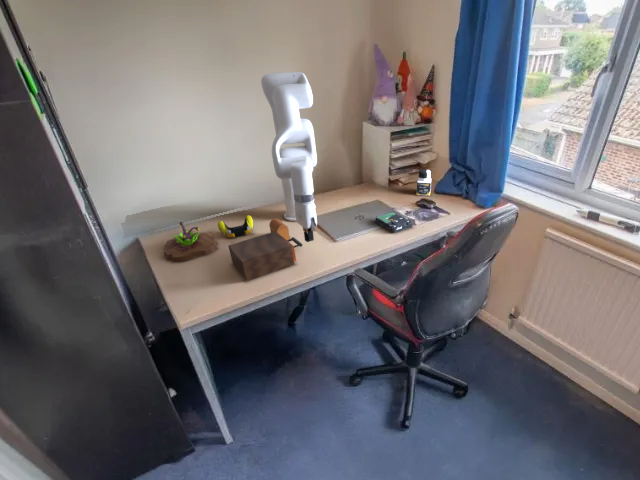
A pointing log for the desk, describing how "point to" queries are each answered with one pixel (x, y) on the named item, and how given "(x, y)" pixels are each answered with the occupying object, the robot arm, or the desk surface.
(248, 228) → the gaming controller
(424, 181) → the medicine bottle
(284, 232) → the brown rounded block
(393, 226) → the disk drive
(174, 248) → the plant
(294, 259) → the drawer
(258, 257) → the cabinet
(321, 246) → the desk surface
